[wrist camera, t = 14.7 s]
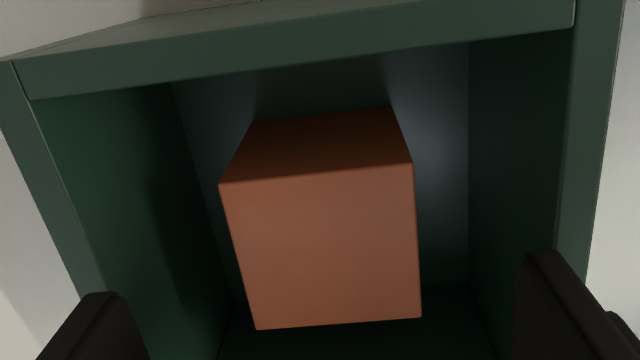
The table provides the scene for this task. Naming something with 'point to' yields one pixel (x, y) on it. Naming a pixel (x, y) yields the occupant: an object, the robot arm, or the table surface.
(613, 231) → the table surface
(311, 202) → the block
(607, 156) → the table surface
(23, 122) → the tin
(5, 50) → the table surface
